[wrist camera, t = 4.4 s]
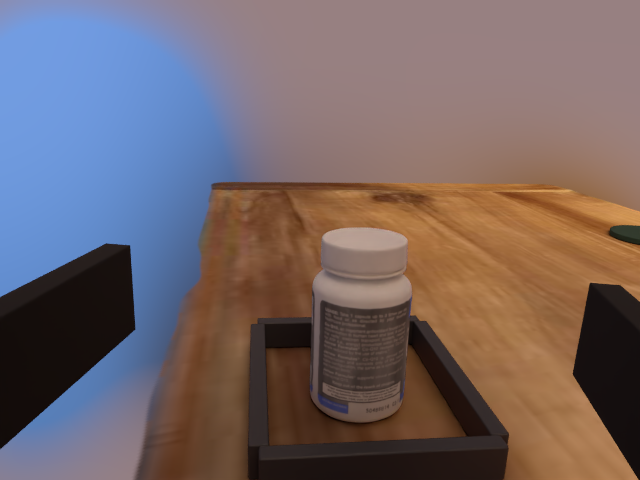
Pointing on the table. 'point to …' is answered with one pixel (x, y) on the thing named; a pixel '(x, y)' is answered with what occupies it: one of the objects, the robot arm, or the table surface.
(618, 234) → the mat
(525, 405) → the table surface
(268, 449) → the dark brown rectangular frame
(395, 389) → the pill bottle
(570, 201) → the table surface
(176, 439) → the table surface
